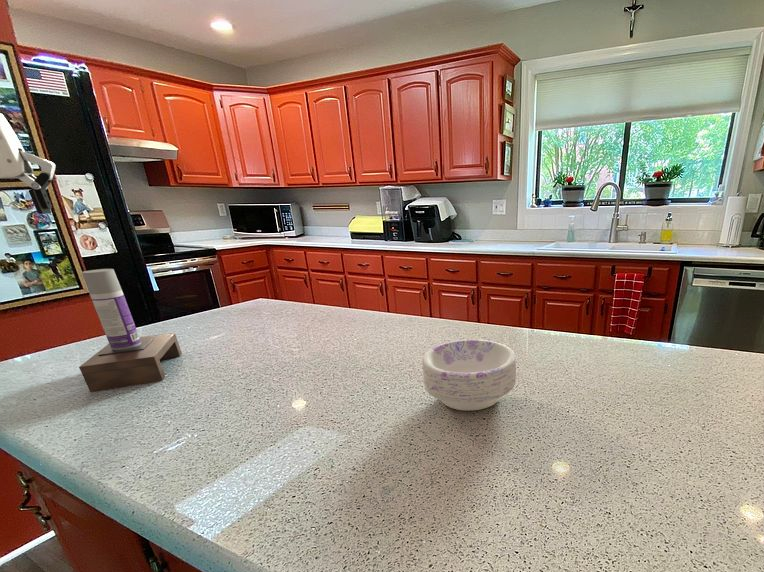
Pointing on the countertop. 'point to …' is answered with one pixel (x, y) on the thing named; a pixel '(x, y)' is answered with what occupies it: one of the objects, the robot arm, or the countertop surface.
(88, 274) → the container
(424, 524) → the countertop surface
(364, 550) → the countertop surface
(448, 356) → the paper bowls
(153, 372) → the shelf
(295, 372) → the countertop surface
